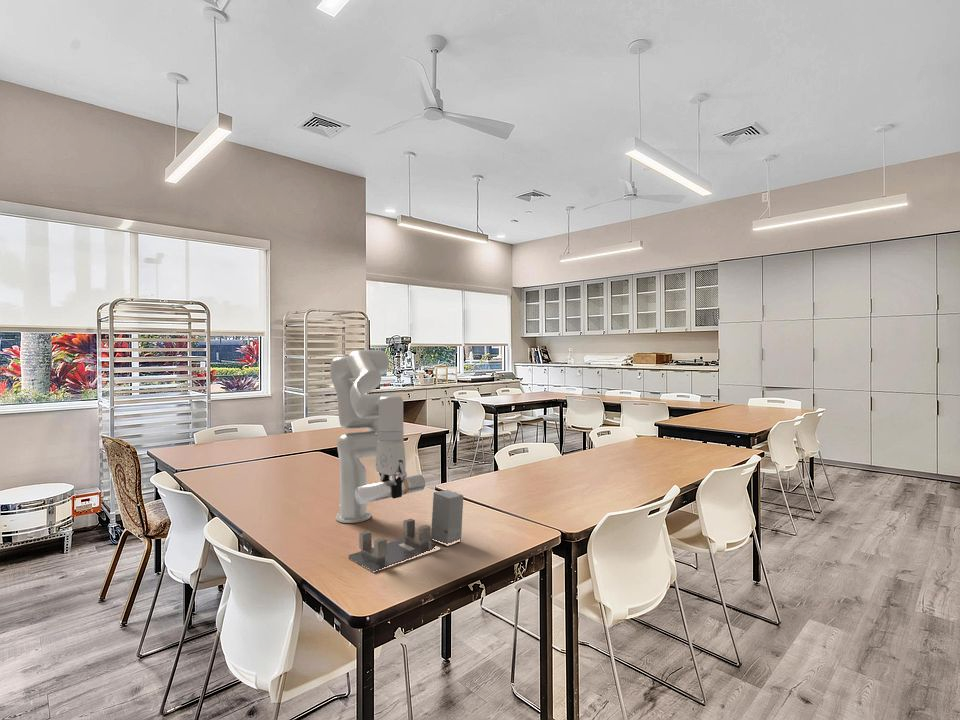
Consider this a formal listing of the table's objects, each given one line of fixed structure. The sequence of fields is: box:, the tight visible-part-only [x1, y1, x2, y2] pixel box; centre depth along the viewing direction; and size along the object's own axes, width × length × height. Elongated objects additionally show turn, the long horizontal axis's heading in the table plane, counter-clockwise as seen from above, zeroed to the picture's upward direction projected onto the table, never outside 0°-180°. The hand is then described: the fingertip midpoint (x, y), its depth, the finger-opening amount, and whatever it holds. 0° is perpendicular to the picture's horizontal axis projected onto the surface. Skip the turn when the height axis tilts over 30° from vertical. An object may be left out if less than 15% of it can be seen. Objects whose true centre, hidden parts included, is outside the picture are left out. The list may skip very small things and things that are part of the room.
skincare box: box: [431, 489, 464, 544], centre depth 165 cm, size 8×7×16 cm
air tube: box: [355, 474, 426, 504], centre depth 155 cm, size 22×5×5 cm, turn 133°
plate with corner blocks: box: [348, 518, 437, 571], centre depth 155 cm, size 14×24×8 cm, turn 134°
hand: (391, 495), depth 155 cm, fingers closed on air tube, 5 cm apart
